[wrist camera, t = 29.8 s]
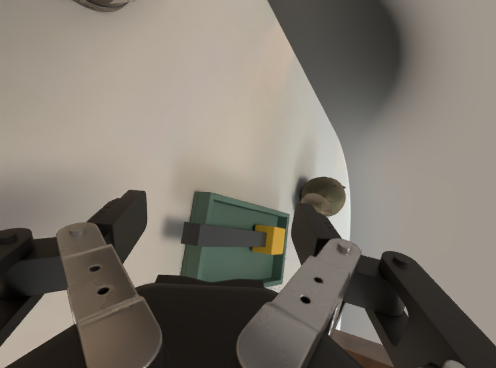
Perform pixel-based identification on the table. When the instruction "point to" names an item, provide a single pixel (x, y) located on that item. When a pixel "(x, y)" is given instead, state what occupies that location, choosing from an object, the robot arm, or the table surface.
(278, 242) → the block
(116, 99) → the table surface
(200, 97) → the table surface
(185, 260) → the tray
